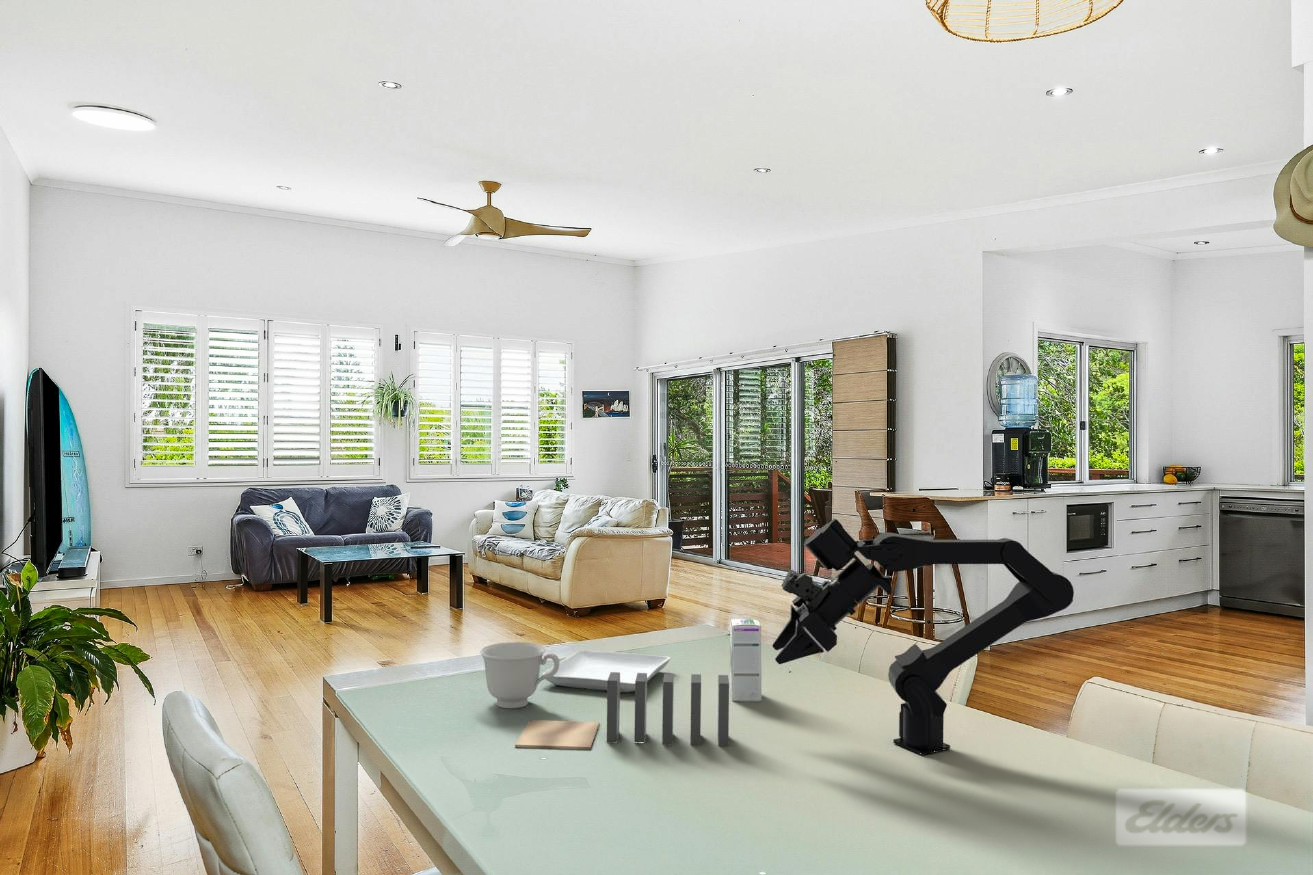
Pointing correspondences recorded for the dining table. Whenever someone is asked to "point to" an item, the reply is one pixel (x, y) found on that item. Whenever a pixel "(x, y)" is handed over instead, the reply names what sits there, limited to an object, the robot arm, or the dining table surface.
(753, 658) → the syrup box
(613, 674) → the domino
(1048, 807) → the dining table surface
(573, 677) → the salad plate
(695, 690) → the domino
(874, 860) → the dining table surface
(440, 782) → the dining table surface
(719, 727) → the domino
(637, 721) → the domino
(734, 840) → the dining table surface
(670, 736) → the domino
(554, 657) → the teacup
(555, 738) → the cork mat
